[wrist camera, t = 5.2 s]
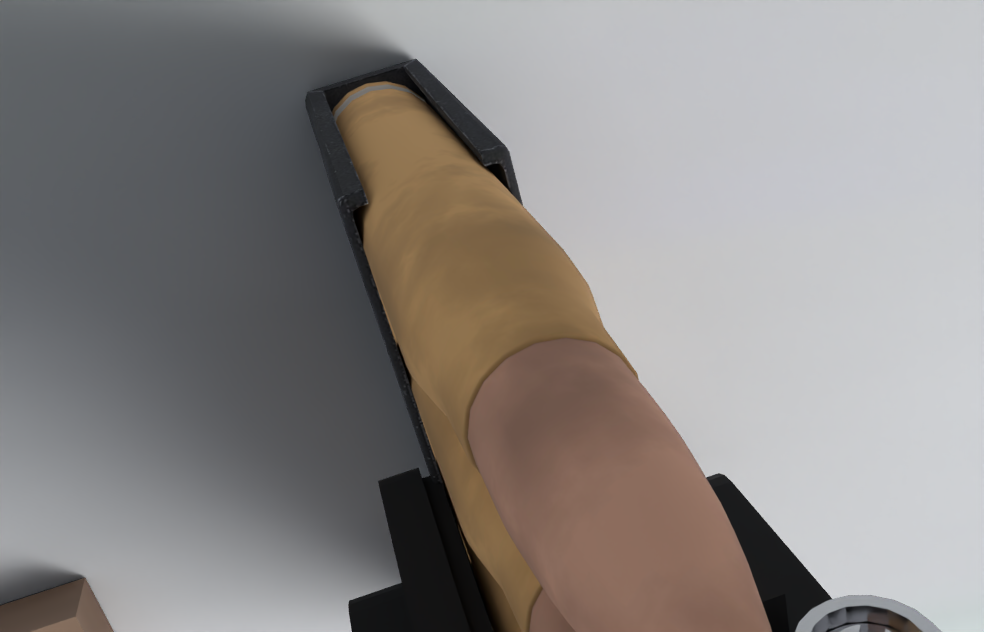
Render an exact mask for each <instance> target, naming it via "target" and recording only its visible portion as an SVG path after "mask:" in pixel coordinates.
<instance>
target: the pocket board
mask: <svg viewBox="0 0 984 632" xmlns="http://www.w3.org/2000/svg"><path fill="white" fill-rule="evenodd" d="M0 632H114V631H113V629H112V627H111V626H110V624H109V622H108V620H107V618H106V616H105V614H104V612H103V610H102V609H101V607H100V605H99V603H98V601H97V599H96V597H95V595H94V593H93V592H92V590H91V588H90V586H89V584H88V582H87V580H86V578H83V579H79V580H76V581H73V582H70V583H67V584H64V585H61V586H58V587H55V588H52V589H49V590H46V591H43V592H40V593H37V594H34V595H31V596H28V597H25V598H22V599H19V600H16V601H13V602H10V603H7V604H4V605H1V606H0Z"/></svg>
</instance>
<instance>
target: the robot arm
mask: <svg viewBox="0 0 984 632" xmlns="http://www.w3.org/2000/svg"><path fill="white" fill-rule="evenodd" d="M706 479H707V480H708V482H709V484H710V485H711V487H712V489H713V491H714V492H715V494H716V496H717V497H718V499H719V501H720V502H721V504H722V507H723V509H724V511H725V513H726V515H727V517H728V519H729V521H730V523H731V525H732V527H733V529H734V532H735V534H736V536H737V538H738V541H739V543H740V545H741V548H742V550H743V552H744V555H745V557H746V559H747V562H748V564H749V567H750V570H751V573H752V576H753V578H754V581H755V584H756V587H757V590H758V592H759V595H760V598H761V601H762V604H763V607H764V609H765V612H766V615H767V618H768V621H769V624H770V626H771V630H772V632H941V631H940V630H939V629H938V628H937V627H936V626H935V625H934V623H932V622H931V621H930V620H929V619H927V618H926V617H925V616H923V615H922V614H921V613H920V612H918V611H917V610H916V609H914V608H911V607H909V606H907V605H905V604H902V603H900V602H898V601H896V600H892V599H887V598H882V597H877V596H873V595H848V596H844V597H840V598H836V599H832V598H831V597H830V596H829V595H828V593H827V592H826V591H825V590H824V589H823V588H822V586H821V585H820V584H819V583H818V582H817V581H816V579H815V578H814V577H813V576H812V575H811V574H810V572H809V571H808V570H807V569H806V568H805V567H804V566H803V564H802V563H801V562H800V561H799V560H798V559H797V557H796V556H795V555H794V554H793V553H792V552H791V550H790V549H789V548H788V547H787V546H786V545H785V543H784V542H783V541H782V540H781V539H780V538H779V536H778V535H777V534H776V533H775V532H774V531H773V529H772V528H771V527H770V526H769V525H768V524H767V522H766V521H765V520H764V519H763V518H762V517H761V515H760V514H759V513H758V512H757V511H756V510H755V508H754V507H753V506H752V505H751V504H750V503H749V501H748V500H747V499H746V498H745V497H744V496H743V494H742V493H741V492H740V491H739V490H738V489H737V488H736V486H735V485H734V484H733V483H732V482H731V481H730V480H729V479H728V478H727V477H726V476H725V475H723V474H719V473H718V474H715V475H713V476H710V477H707V478H706ZM378 483H379V487H380V492H381V496H382V500H383V504H384V509H385V513H386V517H387V521H388V526H389V530H390V534H391V538H392V543H393V547H394V551H395V555H396V560H397V564H398V568H399V572H400V577H401V581H402V583H400V584H397V585H394V586H391V587H388V588H385V589H382V590H379V591H376V592H374V593H371V594H368V595H365V596H362V597H359V598H356V599H353V600H350V601H349V604H348V606H349V615H350V622H351V629H352V632H493V630H492V627H491V624H490V622H489V619H488V616H487V613H486V610H485V607H484V604H483V601H482V598H481V596H480V593H479V590H478V587H477V584H476V581H475V578H474V575H473V573H472V570H471V567H470V564H469V561H468V558H467V555H466V552H465V549H464V547H463V544H462V541H461V538H460V535H459V532H458V529H457V526H456V524H455V521H454V518H453V515H452V512H451V509H450V506H449V503H448V500H447V498H446V495H445V492H444V489H443V486H442V483H438V484H435V483H434V482H433V481H432V478H431V476H428V477H425V478H422V477H421V474H420V471H419V468H416V469H413V470H410V471H407V472H404V473H401V474H398V475H395V476H392V477H389V478H386V479H383V480H380V481H378Z"/></svg>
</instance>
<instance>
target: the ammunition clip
mask: <svg viewBox="0 0 984 632" xmlns="http://www.w3.org/2000/svg"><path fill="white" fill-rule="evenodd" d="M305 101H306V108H307V111H308V115H309V118H310V121H311V124H312V127H313V130H314V134H315V137H316V140H317V143H318V146H319V149H320V153H321V156H322V159H323V162H324V165H325V168H326V171H327V175H328V178H329V181H330V184H331V187H332V190H333V194H334V197H335V200H336V203H337V206H338V209H339V212H340V215H341V218H342V221H343V224H344V227H345V229H346V232H347V235H348V238H349V241H350V244H351V247H352V250H353V253H354V255H355V258H356V261H357V264H358V267H359V270H360V273H361V276H362V279H363V281H364V284H365V287H366V290H367V293H368V296H369V299H370V302H371V305H372V308H373V310H374V313H375V316H376V319H377V322H378V325H379V328H380V331H381V334H382V336H383V339H384V342H385V345H386V348H387V351H388V354H389V357H390V360H391V362H392V365H393V368H394V371H395V374H396V377H397V380H398V383H399V386H400V388H401V391H402V394H403V397H404V400H405V403H406V406H407V409H408V412H409V415H410V417H411V420H412V423H413V426H414V429H415V432H416V435H417V438H418V441H419V443H420V446H421V449H422V452H423V455H424V458H425V461H426V464H427V467H428V469H429V472H430V475H431V478H432V481H433V482H434V483H435V484H438V483H442V486H443V489H444V492H445V495H446V498H447V500H448V503H449V506H450V509H451V512H452V515H453V518H454V521H455V524H456V526H457V529H458V532H459V535H460V538H461V541H462V544H463V547H464V549H465V552H466V555H467V558H468V561H469V564H470V567H471V570H472V573H473V575H474V578H475V581H476V584H477V587H478V590H479V593H480V596H481V598H482V601H483V604H484V607H485V610H486V613H487V616H488V619H489V622H490V624H491V627H492V630H493V632H772V630H771V626H770V624H769V621H768V618H767V615H766V612H765V609H764V607H763V604H762V601H761V598H760V595H759V592H758V590H757V587H756V584H755V581H754V578H753V576H752V573H751V570H750V567H749V564H748V562H747V559H746V557H745V555H744V552H743V550H742V548H741V545H740V543H739V541H738V538H737V536H736V534H735V532H734V529H733V527H732V525H731V523H730V521H729V519H728V517H727V515H726V513H725V511H724V509H723V507H722V504H721V502H720V501H719V499H718V497H717V496H716V494H715V492H714V491H713V489H712V487H711V485H710V484H709V482H708V480H707V479H706V477H705V475H704V473H703V472H702V470H701V468H700V467H699V465H698V463H697V462H696V460H695V458H694V457H693V455H692V453H691V452H690V450H689V449H688V447H687V445H686V444H685V442H684V440H683V439H682V437H681V436H680V434H679V433H678V432H677V430H676V429H675V427H674V426H673V425H672V423H671V422H670V420H669V419H668V418H667V416H666V415H665V413H664V412H663V411H662V410H661V408H660V407H659V406H658V404H657V403H656V402H655V400H654V399H653V398H652V397H651V395H650V394H649V393H648V392H647V390H646V389H645V388H644V387H643V385H642V384H641V383H640V382H639V380H638V375H637V373H636V371H635V370H634V368H633V367H632V366H631V364H630V363H629V361H628V360H627V359H626V357H625V356H624V354H623V353H622V352H621V350H620V349H619V348H618V346H617V345H616V343H615V342H614V341H613V339H612V338H611V337H610V335H609V334H608V333H607V331H606V330H605V328H604V327H603V324H602V321H601V318H600V315H599V312H598V310H597V307H596V304H595V301H594V298H593V295H592V293H591V290H590V288H589V286H588V284H587V282H586V281H585V279H584V278H583V276H582V275H581V274H580V272H579V271H578V269H577V268H576V267H575V265H574V264H573V262H572V261H571V260H570V258H569V257H568V255H567V254H566V253H565V251H564V250H563V249H562V248H561V247H560V246H559V244H558V243H557V242H556V241H555V240H554V239H553V238H552V237H551V236H550V235H549V234H548V233H547V232H546V230H545V229H544V228H543V227H542V226H541V225H540V224H539V223H538V222H537V221H536V220H535V219H534V218H533V216H532V215H531V214H530V213H529V212H528V211H527V210H526V209H525V208H524V207H523V204H522V200H521V196H520V192H519V188H518V184H517V180H516V176H515V173H514V169H513V165H512V161H511V157H510V153H509V151H508V149H507V147H506V146H505V145H504V144H503V143H502V142H501V141H500V140H499V139H498V138H497V137H496V136H495V135H494V134H493V133H492V132H491V131H490V130H489V129H488V128H487V127H486V126H485V125H484V124H483V123H482V122H481V121H480V120H478V119H477V118H476V117H475V116H474V115H473V114H472V113H471V112H470V111H469V110H468V109H467V108H466V107H465V106H464V105H463V104H462V103H461V102H460V101H459V100H458V99H457V98H456V97H455V96H454V95H453V94H452V93H451V92H450V91H449V90H448V89H447V88H446V87H445V86H444V85H443V84H442V83H441V82H440V81H439V80H438V79H437V78H436V77H435V76H434V75H433V74H431V73H430V72H429V71H428V70H427V69H426V68H425V67H424V66H423V65H422V64H421V63H420V62H419V61H418V60H417V59H414V60H411V61H407V62H404V63H401V64H398V65H394V66H391V67H388V68H385V69H381V70H378V71H375V72H372V73H368V74H365V75H362V76H359V77H355V78H352V79H349V80H346V81H342V82H339V83H336V84H333V85H329V86H326V87H323V88H320V89H316V90H313V91H310V92H308V93H307V97H306V100H305Z"/></svg>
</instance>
